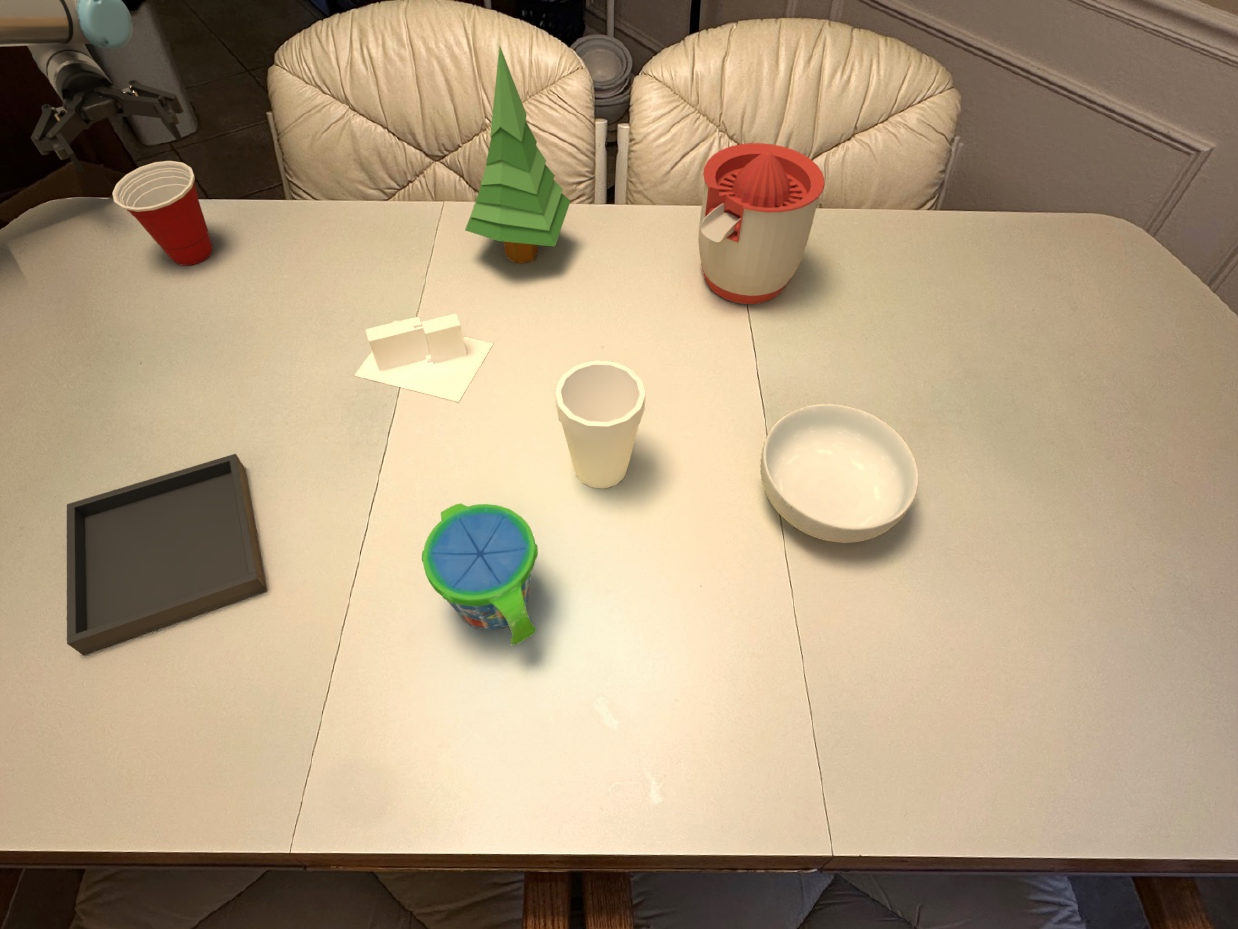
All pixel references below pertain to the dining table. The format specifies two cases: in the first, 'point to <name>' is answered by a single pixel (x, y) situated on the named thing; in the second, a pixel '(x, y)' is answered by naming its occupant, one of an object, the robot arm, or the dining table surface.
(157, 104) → the robot arm
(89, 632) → the tray
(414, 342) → the napkin holder
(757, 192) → the citrus juicer
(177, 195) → the plastic cup
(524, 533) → the snack cup
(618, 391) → the foam cup
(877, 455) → the cereal bowl
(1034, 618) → the dining table surface
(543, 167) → the decorative tree
